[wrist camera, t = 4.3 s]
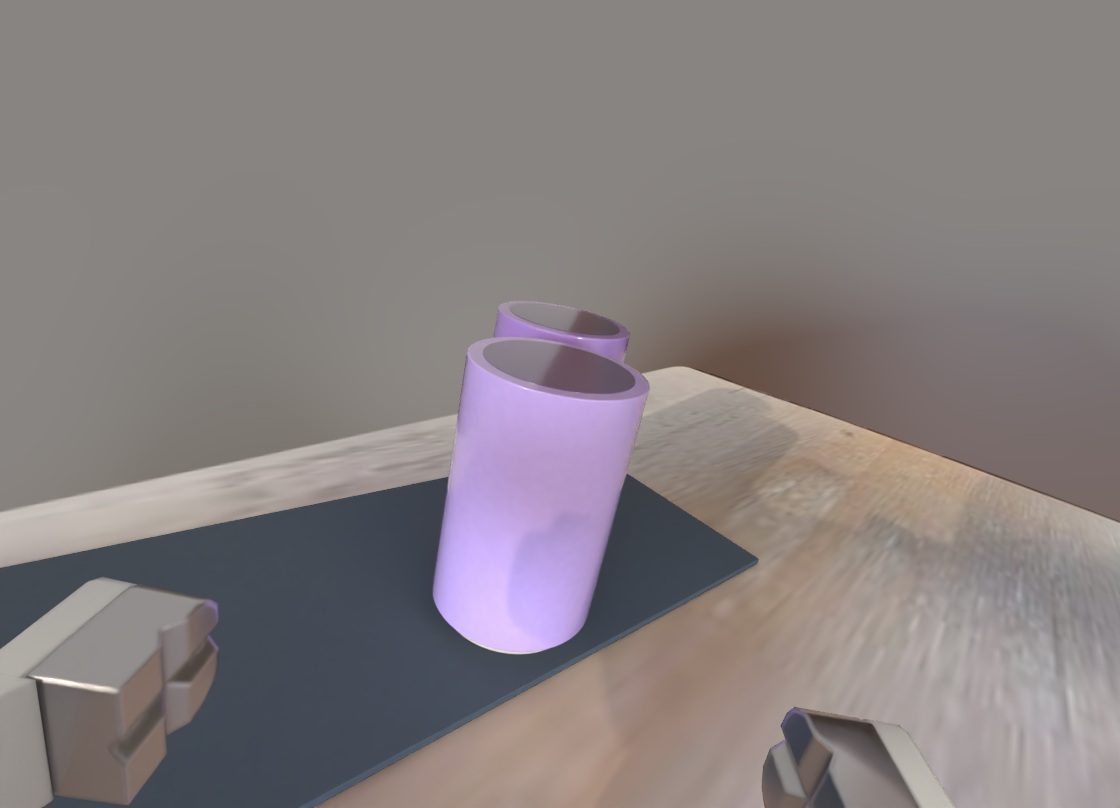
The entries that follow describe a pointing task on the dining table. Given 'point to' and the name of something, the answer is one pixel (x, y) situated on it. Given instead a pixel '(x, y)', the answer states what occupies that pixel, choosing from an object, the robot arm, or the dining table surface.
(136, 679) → the robot arm
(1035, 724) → the dining table surface
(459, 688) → the placemat
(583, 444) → the lilac tumbler
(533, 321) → the heather tumbler
